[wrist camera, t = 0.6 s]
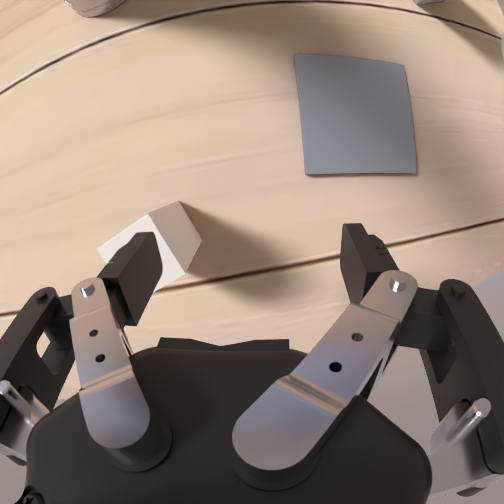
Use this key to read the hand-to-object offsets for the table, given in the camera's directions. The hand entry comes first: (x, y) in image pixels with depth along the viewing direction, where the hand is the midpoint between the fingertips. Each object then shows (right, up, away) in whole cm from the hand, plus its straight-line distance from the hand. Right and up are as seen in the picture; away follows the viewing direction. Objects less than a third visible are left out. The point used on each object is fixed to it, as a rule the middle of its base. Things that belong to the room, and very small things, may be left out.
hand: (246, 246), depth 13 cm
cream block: (-9, +2, +20) cm, 22 cm away
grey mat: (+12, +16, +18) cm, 27 cm away
